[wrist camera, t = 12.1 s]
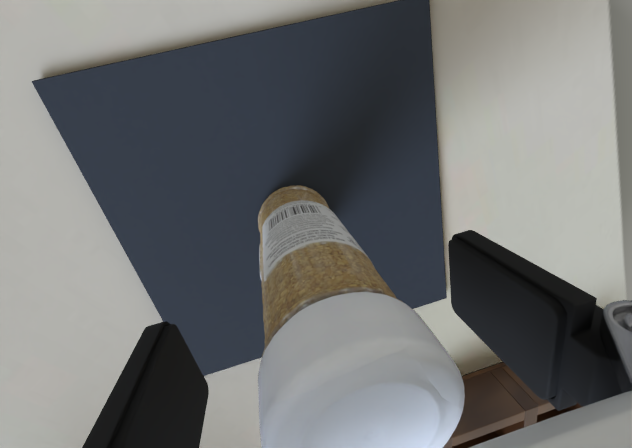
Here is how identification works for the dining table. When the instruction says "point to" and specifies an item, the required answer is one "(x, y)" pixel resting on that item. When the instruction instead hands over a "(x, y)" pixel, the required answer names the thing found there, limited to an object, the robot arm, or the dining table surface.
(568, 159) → the dining table surface
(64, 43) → the dining table surface
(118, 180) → the table mat
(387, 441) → the sprinkles bottle
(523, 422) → the spice rack
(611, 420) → the robot arm
